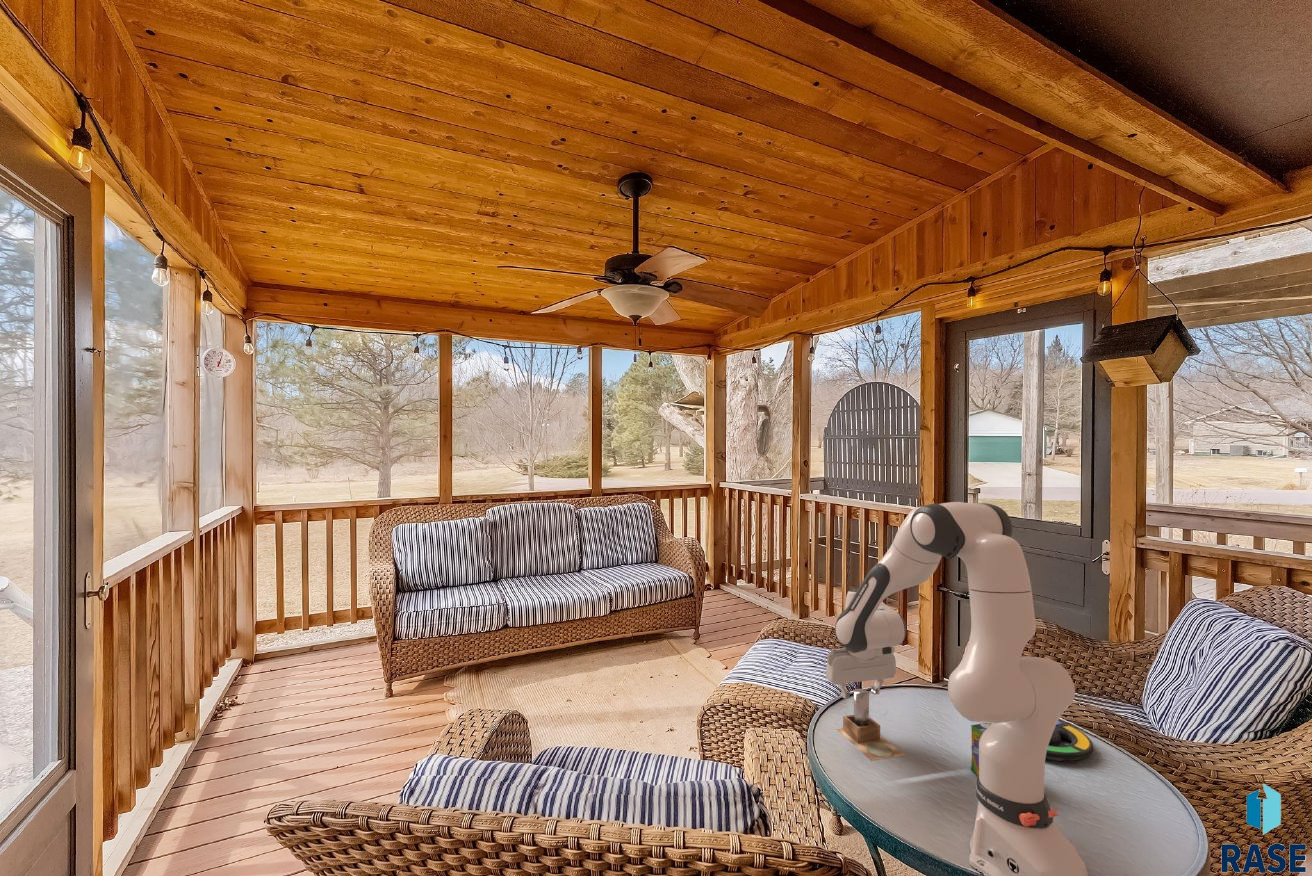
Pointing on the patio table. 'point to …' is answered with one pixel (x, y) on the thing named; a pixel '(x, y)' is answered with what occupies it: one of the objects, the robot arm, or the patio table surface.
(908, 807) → the patio table surface
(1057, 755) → the electronic game
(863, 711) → the peg
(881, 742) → the pocket board
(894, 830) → the patio table surface
